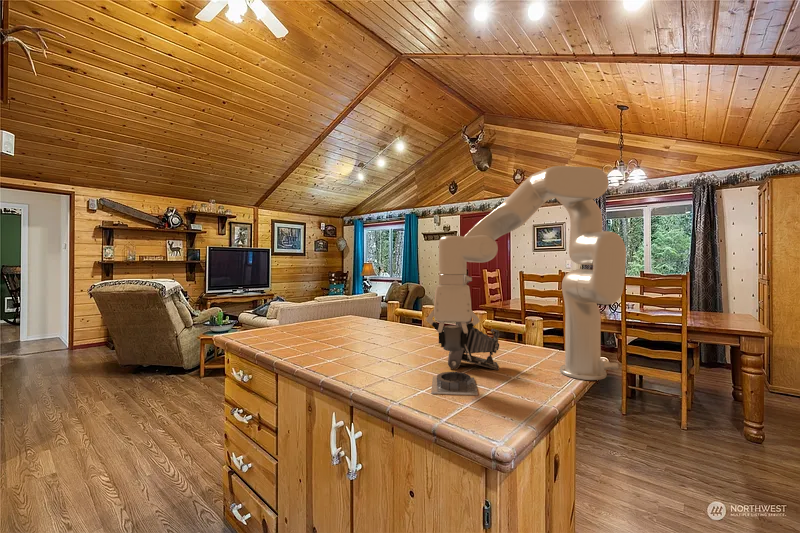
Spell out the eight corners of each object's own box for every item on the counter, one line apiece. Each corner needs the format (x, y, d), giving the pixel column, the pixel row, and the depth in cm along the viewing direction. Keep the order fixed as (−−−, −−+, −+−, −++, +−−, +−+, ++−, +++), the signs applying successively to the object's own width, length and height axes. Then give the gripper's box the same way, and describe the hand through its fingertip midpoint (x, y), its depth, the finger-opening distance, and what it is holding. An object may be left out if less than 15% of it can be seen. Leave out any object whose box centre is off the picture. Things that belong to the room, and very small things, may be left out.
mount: (473, 379, 104) (473, 370, 104) (477, 395, 92) (477, 385, 92) (432, 378, 106) (432, 369, 106) (431, 393, 94) (431, 384, 94)
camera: (496, 383, 111) (513, 321, 110) (443, 366, 114) (459, 306, 113) (494, 372, 122) (509, 316, 121) (446, 357, 125) (460, 302, 124)
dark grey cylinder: (461, 346, 101) (461, 325, 101) (462, 351, 96) (462, 328, 96) (443, 346, 101) (443, 324, 101) (443, 350, 96) (443, 328, 96)
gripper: (482, 280, 101) (482, 344, 101) (422, 279, 103) (422, 342, 103) (485, 281, 93) (485, 351, 94) (420, 281, 95) (420, 349, 96)
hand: (452, 345), depth 99 cm, fingers closed on dark grey cylinder, 4 cm apart
